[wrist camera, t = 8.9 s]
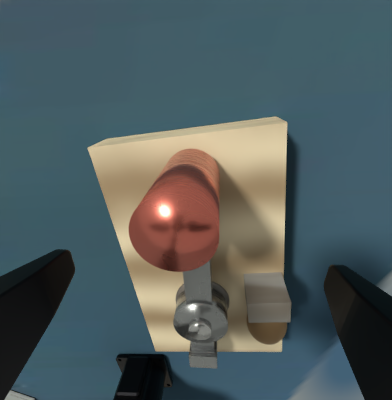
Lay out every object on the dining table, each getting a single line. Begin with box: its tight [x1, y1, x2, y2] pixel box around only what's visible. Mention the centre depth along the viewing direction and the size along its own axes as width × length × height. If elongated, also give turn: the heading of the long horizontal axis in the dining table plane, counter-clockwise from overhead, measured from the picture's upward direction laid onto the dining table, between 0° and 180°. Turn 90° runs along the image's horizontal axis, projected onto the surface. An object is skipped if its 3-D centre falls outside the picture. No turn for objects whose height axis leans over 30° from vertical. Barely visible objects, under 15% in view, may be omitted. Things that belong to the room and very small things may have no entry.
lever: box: [129, 149, 228, 368], centre depth 16 cm, size 19×4×7 cm, turn 4°
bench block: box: [88, 117, 291, 352], centre depth 20 cm, size 22×13×6 cm, turn 8°
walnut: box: [246, 313, 287, 345], centre depth 19 cm, size 3×3×3 cm
